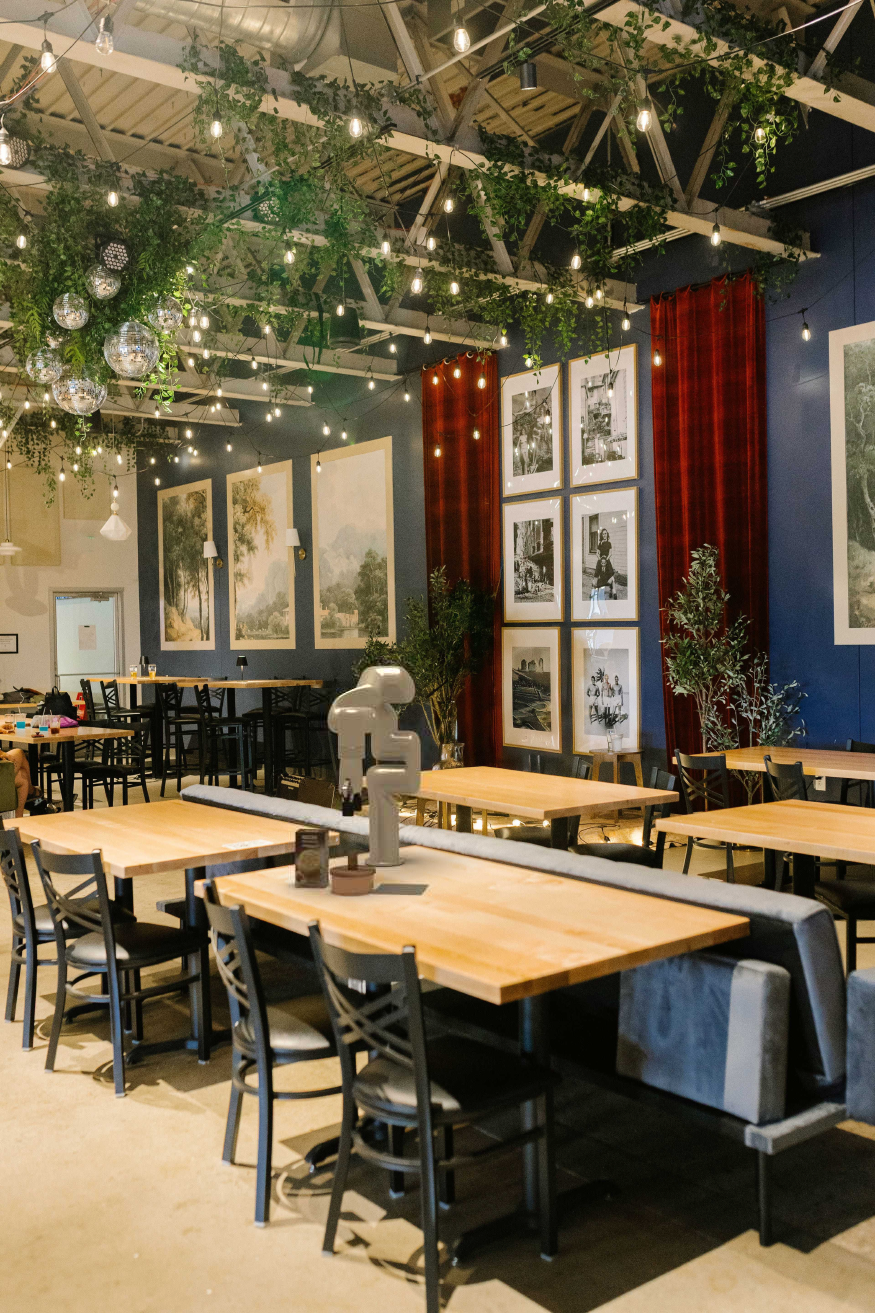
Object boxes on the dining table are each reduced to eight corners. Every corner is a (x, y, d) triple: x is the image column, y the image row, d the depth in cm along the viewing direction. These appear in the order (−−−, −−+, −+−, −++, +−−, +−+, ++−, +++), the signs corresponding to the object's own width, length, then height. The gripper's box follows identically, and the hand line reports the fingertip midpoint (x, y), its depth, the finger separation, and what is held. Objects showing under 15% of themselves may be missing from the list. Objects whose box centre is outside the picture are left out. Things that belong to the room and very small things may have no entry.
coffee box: (294, 887, 306) (293, 831, 306) (299, 883, 312) (298, 828, 312) (325, 888, 305) (324, 832, 305) (329, 883, 311) (329, 828, 311)
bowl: (338, 888, 305) (338, 868, 305) (376, 888, 303) (376, 869, 303) (328, 896, 294) (328, 876, 294) (367, 897, 292) (367, 877, 292)
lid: (335, 868, 306) (335, 847, 306) (380, 868, 304) (379, 847, 304) (324, 877, 293) (324, 855, 293) (370, 878, 291) (370, 856, 291)
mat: (381, 885, 308) (381, 883, 308) (429, 886, 306) (429, 884, 306) (371, 895, 295) (371, 894, 295) (421, 896, 292) (421, 895, 292)
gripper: (345, 750, 308) (346, 809, 308) (330, 755, 291) (331, 818, 291) (371, 750, 307) (371, 809, 307) (357, 755, 290) (358, 818, 290)
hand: (352, 813), depth 299 cm, fingers open, 9 cm apart
